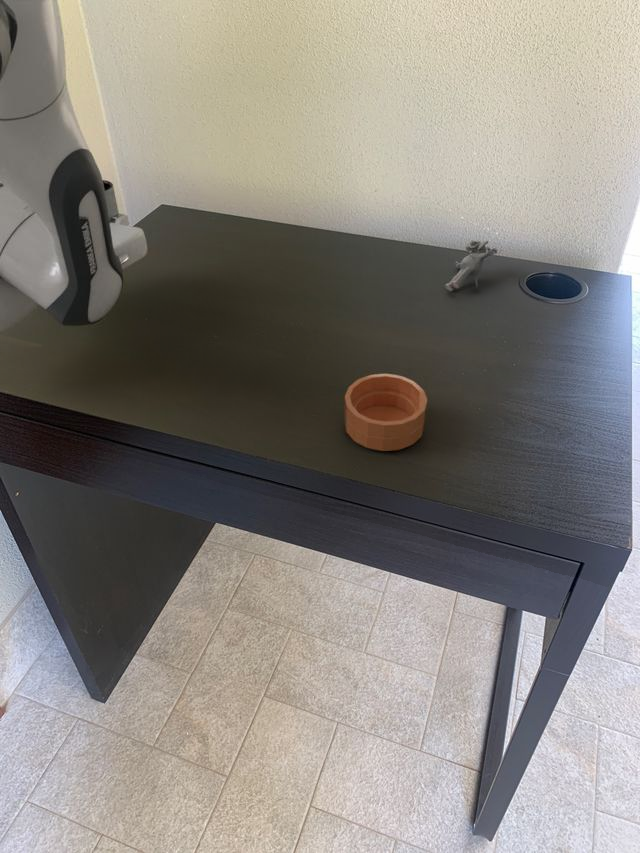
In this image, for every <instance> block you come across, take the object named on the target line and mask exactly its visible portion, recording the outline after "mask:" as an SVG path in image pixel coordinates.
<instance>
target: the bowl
mask: <svg viewBox="0 0 640 853" xmlns="http://www.w3.org/2000/svg"><path fill="white" fill-rule="evenodd" d="M427 409H428V398H427V394H426V392H425V389H423V388H422V387H421V386H420V385H419V384H418V383H417V382H415V381H414V380H412V379H410V378H407V377H405V376H403V375H399V374H392V373H375V374H369V375H366V376H364V377H361V378H358V379H356V380H355V381H354V382H353V383H352V384H351V385H349V386H348V388H347V390H346V392H345V395H344V412H343V413H344V415H343V416H344V418H343V419H344V420H343V424H344V427H345V432H346V433H347V435H348V436H349V437H350V438H351V439H352V440H353V441H354V442H355V443H356V444H358V445H361V446H362V447H364V448H367V449H370V450H374V451H380V452H391V451H399V450H402V449H406V448H408V447H410V446H413V445H414V444H415V443H416V442H417V441H418V440H419V439H420V438H421V437H422V436H423V434H424V430H425V426H426V419H427V418H426V417H427Z"/></svg>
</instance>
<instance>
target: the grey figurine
mask: <svg viewBox="0 0 640 853" xmlns="http://www.w3.org/2000/svg"><path fill="white" fill-rule="evenodd" d="M487 244H489V241H488V240H483V241H482V242H481V241H479V240H477V241H476V240H468V242H467V244H466V242H463V247H464V249H465V251H468V253H469V255H467V256H465V257H464V258H463V259H462V260H461V262H458V261H455V267H456V268H457V269H460V270H459V271H458V273H457V274H456V275H455V276H453V277H452V279H451V280H450V282H448V283H446V284H445V285H444V287H445V288H446V290H448V291H449V292H451V293H452V292H453V291H454V290H455V289H457V290H458V289H459V290H460V288H461V287H462V285H463V284H464V282H465V280H466V279H467V278H469V277H472V278H474V282H475V286H476V288H478V280H479V273H480V271H481V269H482V267H483V264H484V260H485V259H486V258H487V257H490V256H493V255H495V254H497V253H498V249H497V248H495V247H494V248H490V247H489V246H486V245H487Z"/></svg>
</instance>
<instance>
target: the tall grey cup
mask: <svg viewBox="0 0 640 853" xmlns="http://www.w3.org/2000/svg"><path fill="white" fill-rule="evenodd" d="M102 180H103V185H104V190H105V195H106V202H107V208H108V215H109V222H110V223H113V221H112V217H113V216H115V215H116V214H117V213H118V214H120V213H119V207H118V202H117V198H116V193H115V188H114V184H113V182H111V181H109V180H106V179H102Z"/></svg>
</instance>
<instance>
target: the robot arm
mask: <svg viewBox="0 0 640 853" xmlns="http://www.w3.org/2000/svg"><path fill="white" fill-rule="evenodd" d="M69 92H70V91H69V87H68V81H67V64H66V47H65V37H64V30H63V24H62V18H61V12H60V8H59V2H58V0H0V334H2V333H4V332H6V331H8V330H9V329H12V328H13V327H14V326H16V325H18V324H19V323H20V322H22V321H23V320H25V319H26V318H28V317H29V316H30V315H31V314H33V313H34V312H35V311H36V310H37V309H38V307H39V306H40V307H42V308H43V309H44V311H45V313H48V314H49V315H50V316H51V317H52V318H53V319H55V320H56V321H57V322H59V323H60V324H61V325H62V326H63V327H65V326H66V327H80V326H87V325H94V324H96V323H98V322H100V321H101V320H102V319H103V318H104V317H106V315H107V314H108V313H109V312H110V311H111V310H112V308H113V307H114V306H115V304H116V302H117V301H118V299H119V297H120V296H121V293H122V290H123V287H124V271H123V270H125V269H127V268H128V267H130V266H132V265H134V264H135V263H137V262H139V261H141V259H143V258H144V257H146V256H147V254H148V244H147V239H146V235H145V232H144V230H143V228H141V227H139V226H138V227H137V226H131V225H130V221H129V216H128V214H124V213H119V214H118V213H117V214H116V215H115V216H113V217H112V221H113V223H110V222H109V215H108V208H107V202H106V195H105V190H104V185H103V180H104V179H103V177H102V174H101V171H100V169H99V167H98V164H97V161H96V160H95V158H94V155H93V154H92V152H91V151H90V147H89V146H88V144H87V141H86V139H85V137H84V134H83V132H82V129H81V127H80V124H79V122H78V118H77V115H76V113H75V109H74V106H73V103H72V100H71V96H70V93H69Z"/></svg>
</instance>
